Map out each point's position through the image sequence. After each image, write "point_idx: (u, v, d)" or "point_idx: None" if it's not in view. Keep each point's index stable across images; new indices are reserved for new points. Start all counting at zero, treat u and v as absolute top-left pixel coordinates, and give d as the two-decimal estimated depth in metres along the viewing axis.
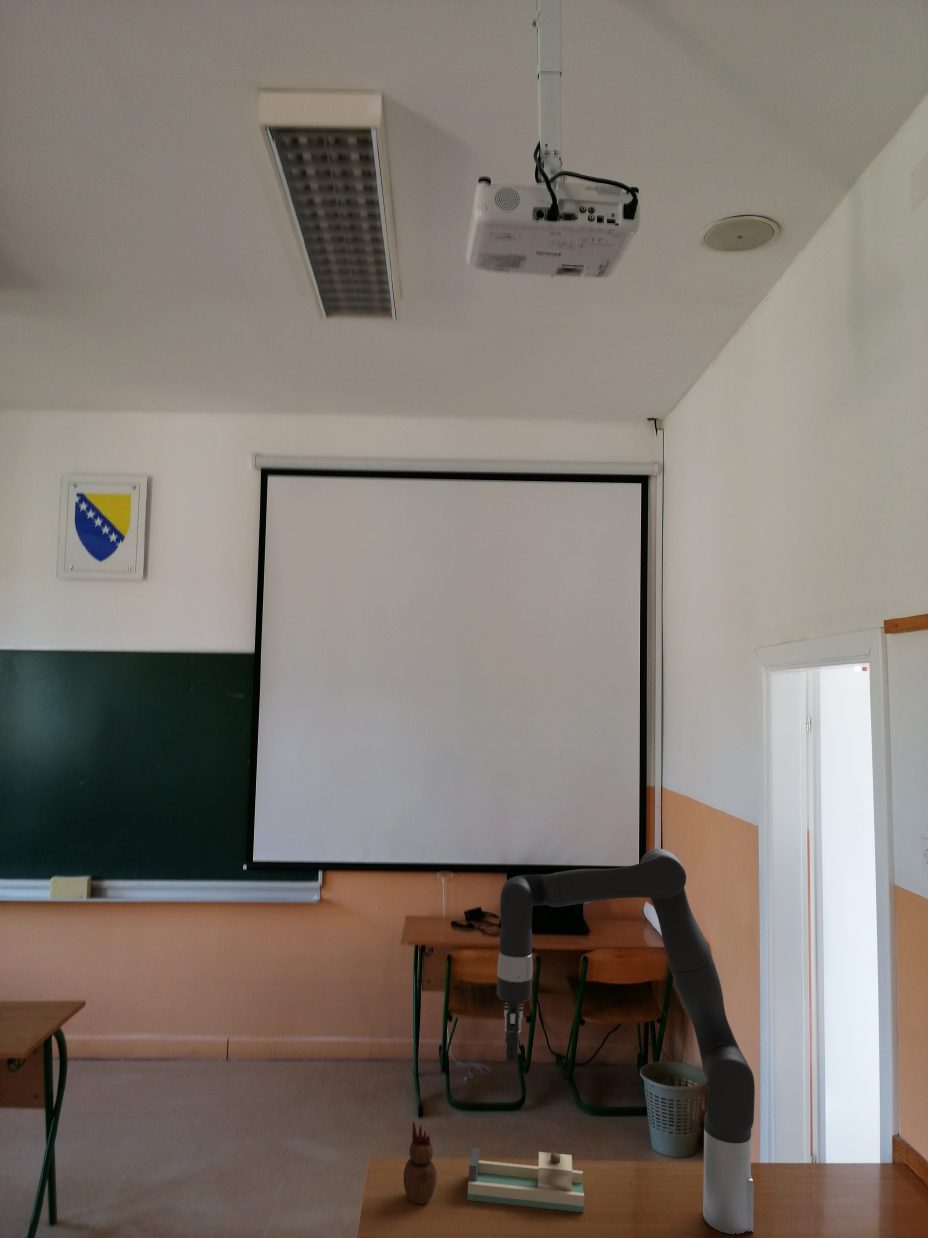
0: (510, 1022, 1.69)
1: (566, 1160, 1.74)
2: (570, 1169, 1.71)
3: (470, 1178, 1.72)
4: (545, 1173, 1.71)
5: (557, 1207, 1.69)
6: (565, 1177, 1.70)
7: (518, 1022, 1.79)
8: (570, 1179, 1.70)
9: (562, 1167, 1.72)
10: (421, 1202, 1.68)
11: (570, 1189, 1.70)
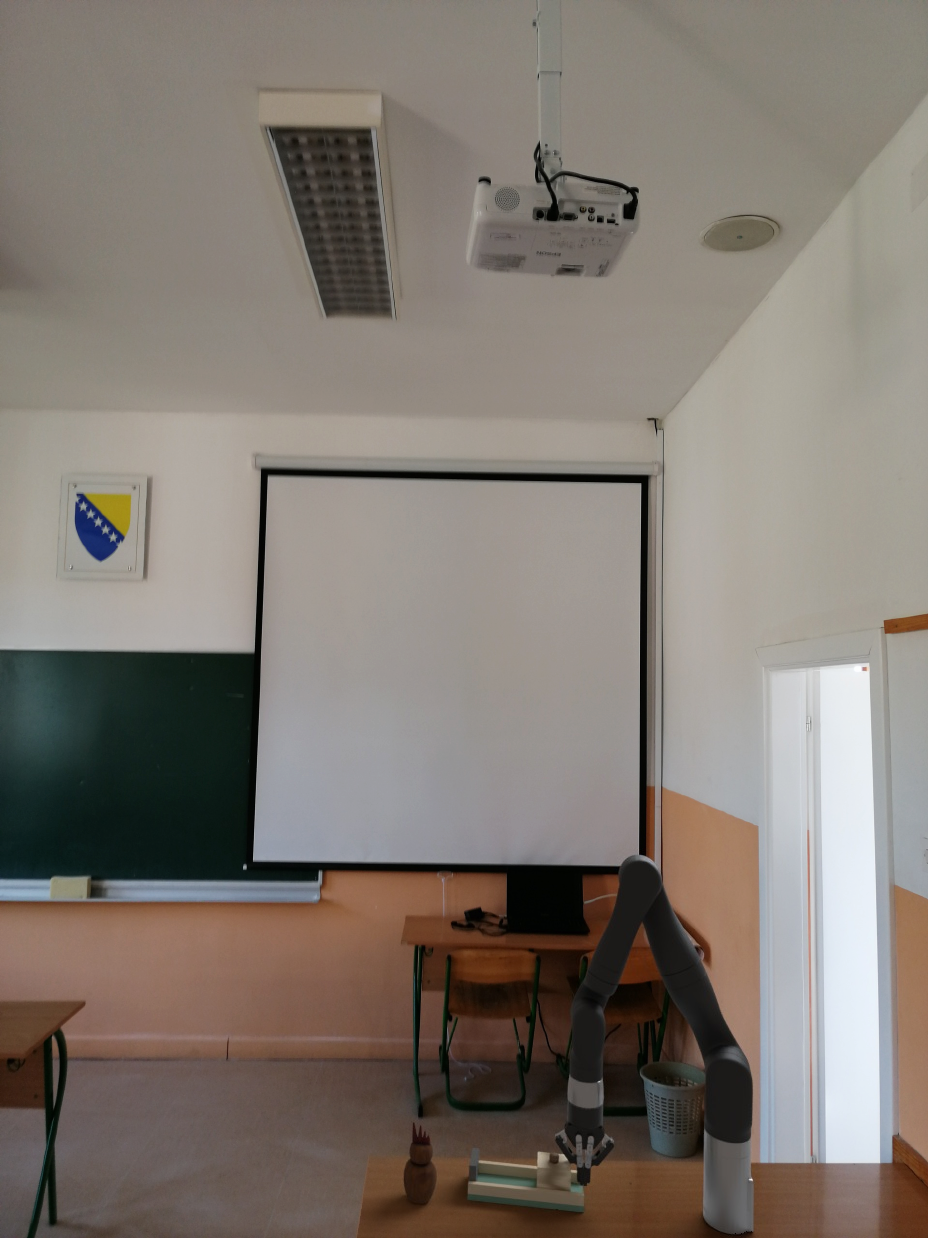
0: None
1: (565, 1160, 1.74)
2: (569, 1169, 1.71)
3: (470, 1178, 1.72)
4: (544, 1173, 1.71)
5: (557, 1207, 1.69)
6: (564, 1177, 1.70)
7: None
8: (569, 1179, 1.70)
9: (560, 1167, 1.72)
10: (421, 1202, 1.68)
11: (569, 1189, 1.70)
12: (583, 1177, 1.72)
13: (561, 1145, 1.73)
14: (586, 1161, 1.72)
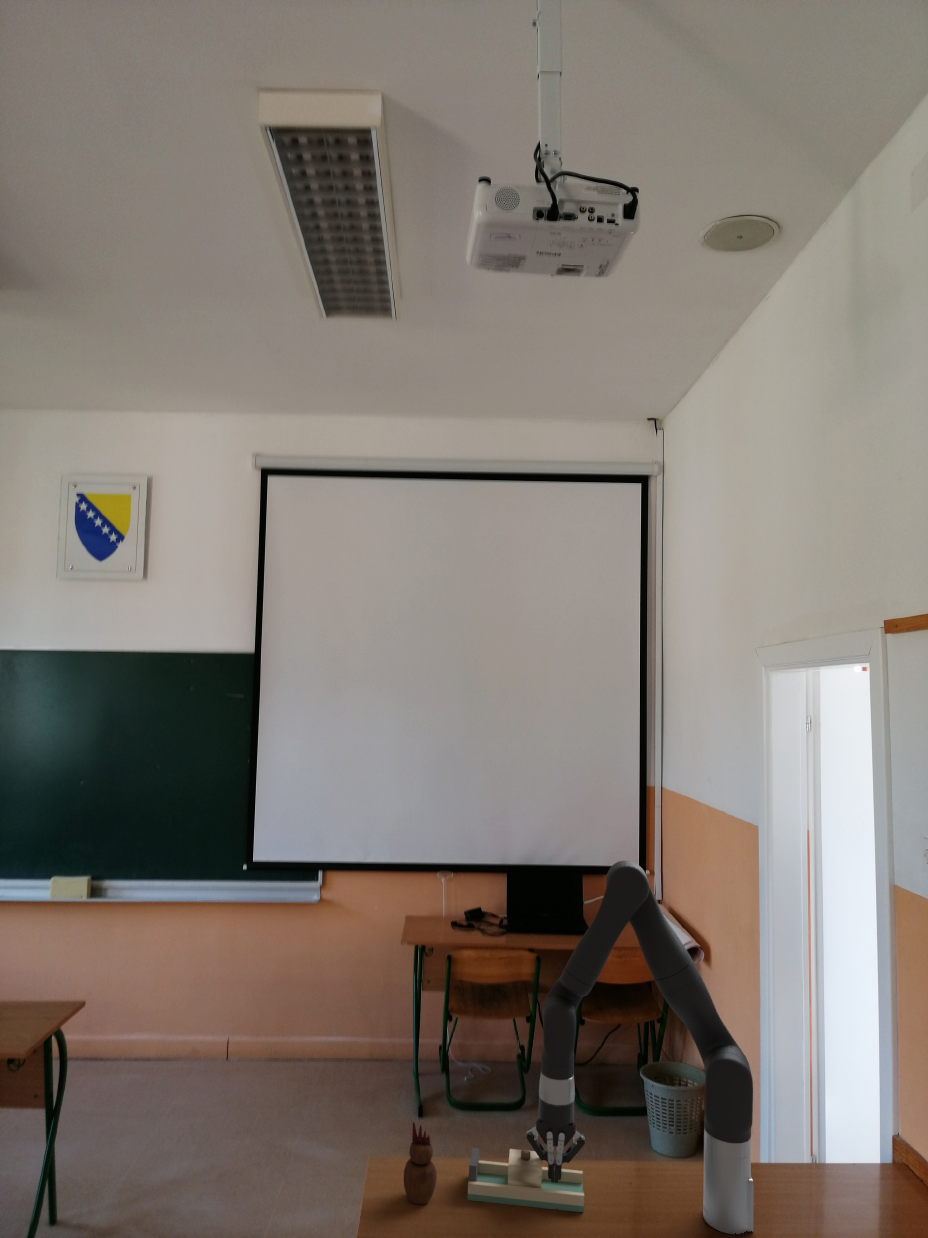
0: None
1: (536, 1157, 1.75)
2: (540, 1166, 1.72)
3: (470, 1178, 1.72)
4: (515, 1170, 1.72)
5: (557, 1207, 1.69)
6: (535, 1174, 1.71)
7: (553, 1150, 1.75)
8: (539, 1176, 1.71)
9: (531, 1164, 1.72)
10: (421, 1202, 1.68)
11: (540, 1186, 1.71)
12: (554, 1174, 1.73)
13: (532, 1142, 1.73)
14: (557, 1158, 1.73)
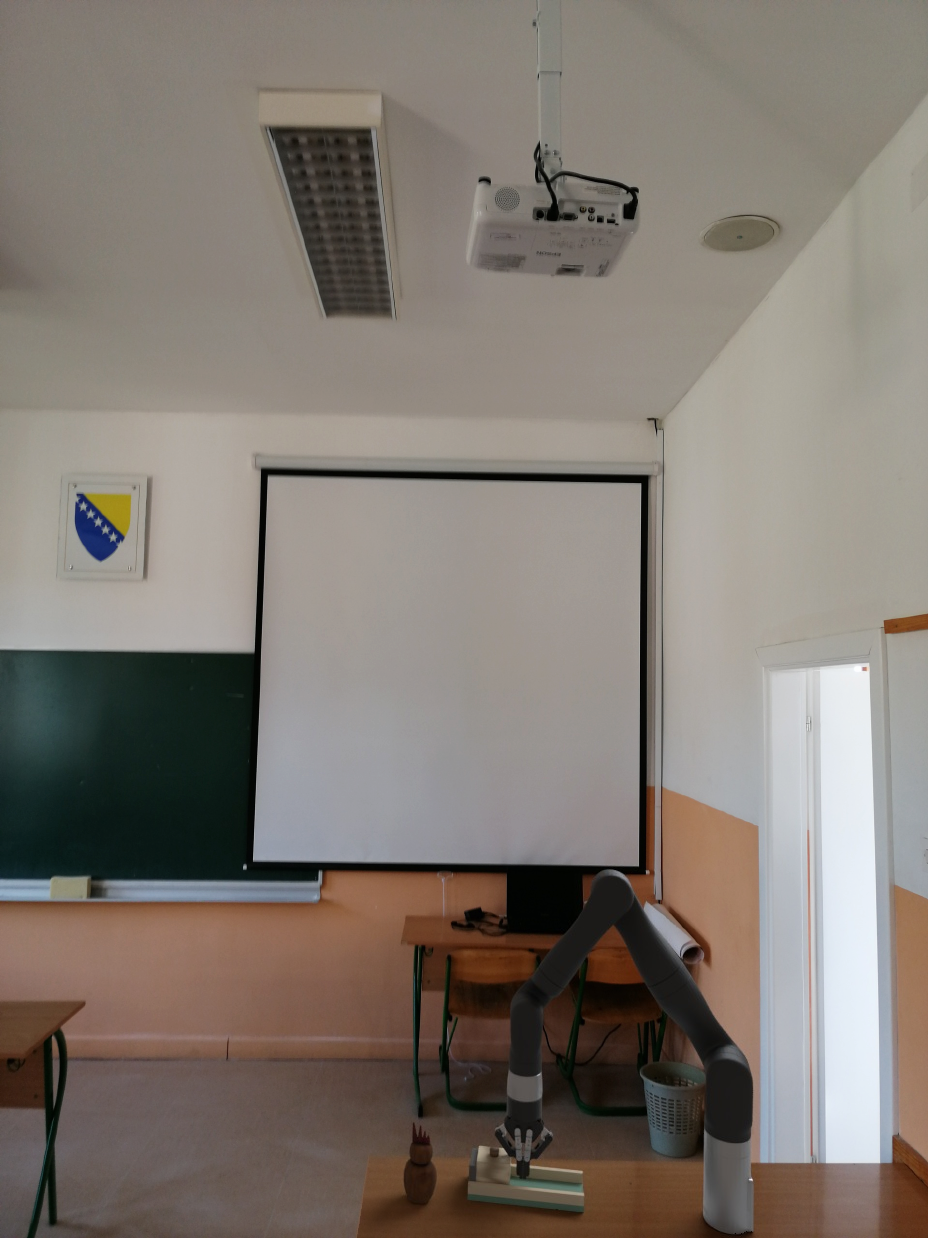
0: None
1: (505, 1153, 1.76)
2: (508, 1163, 1.72)
3: (470, 1178, 1.72)
4: (483, 1166, 1.72)
5: (557, 1207, 1.69)
6: (503, 1170, 1.72)
7: None
8: (507, 1173, 1.72)
9: (500, 1161, 1.73)
10: (421, 1202, 1.68)
11: (507, 1182, 1.72)
12: (522, 1170, 1.73)
13: (500, 1139, 1.74)
14: (525, 1154, 1.73)
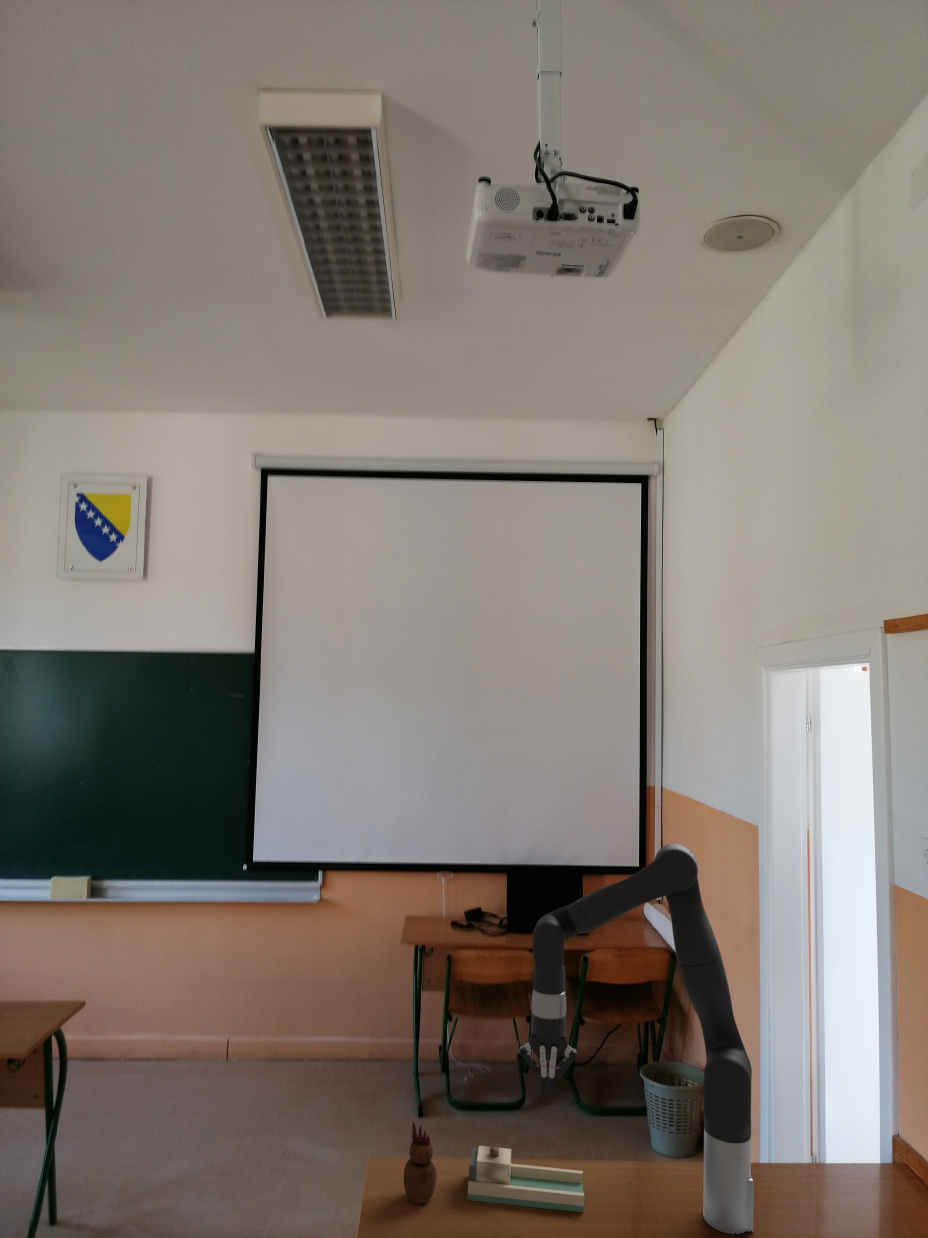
0: None
1: (505, 1153, 1.76)
2: (508, 1163, 1.72)
3: (470, 1178, 1.72)
4: (483, 1166, 1.72)
5: (557, 1207, 1.69)
6: (503, 1170, 1.72)
7: None
8: (507, 1173, 1.72)
9: (500, 1161, 1.73)
10: (421, 1202, 1.68)
11: (507, 1182, 1.72)
12: (547, 1086, 1.78)
13: (526, 1056, 1.78)
14: (550, 1071, 1.78)
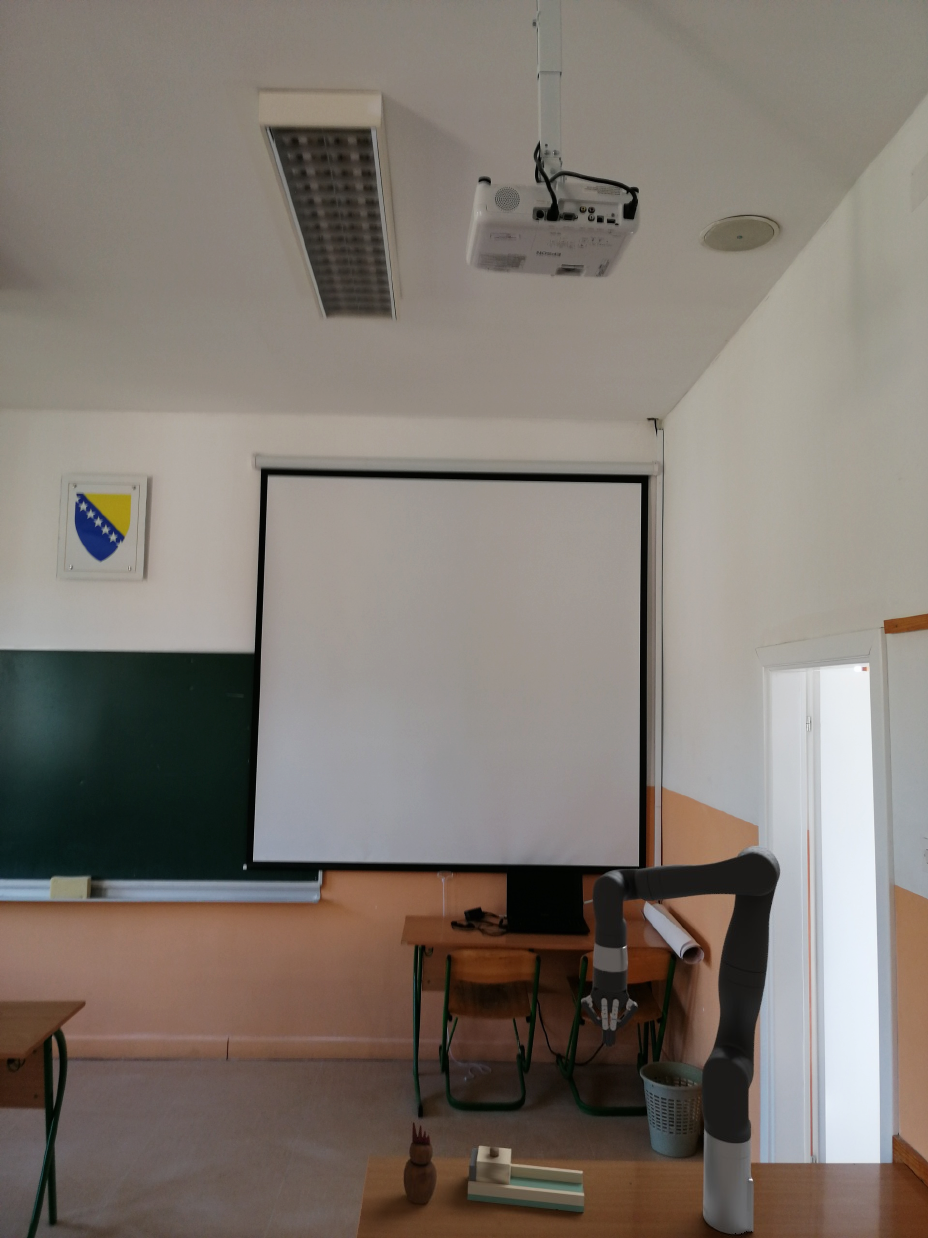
0: None
1: (505, 1153, 1.76)
2: (508, 1163, 1.72)
3: (470, 1178, 1.72)
4: (483, 1166, 1.72)
5: (557, 1207, 1.69)
6: (503, 1170, 1.72)
7: None
8: (507, 1173, 1.72)
9: (500, 1161, 1.73)
10: (421, 1202, 1.68)
11: (507, 1182, 1.72)
12: (608, 1038, 1.80)
13: (587, 1009, 1.81)
14: (611, 1023, 1.80)
